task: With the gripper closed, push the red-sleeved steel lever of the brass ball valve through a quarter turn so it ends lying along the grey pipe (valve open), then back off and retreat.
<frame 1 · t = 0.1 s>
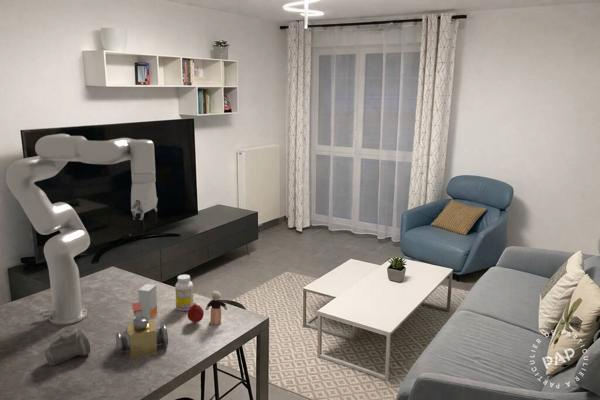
hand: (146, 226, 163), 37 cm above the table, tool pointing down, fingers open, 9 cm apart
onion: (195, 323, 175), on the table
lever: (138, 315, 160), point 9 cm above the table, hinge at 90.0°
pipe fitting: (68, 359, 151), on the table
skincare box: (148, 317, 179), on the table
valve: (142, 349, 157), on the table
supplement bottle: (184, 308, 187), on the table
grandmother figurine: (216, 323, 175), on the table
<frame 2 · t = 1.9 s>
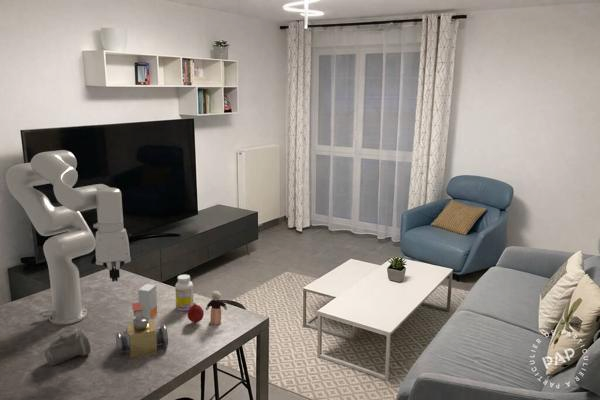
hand: (115, 279, 159), 21 cm above the table, tool pointing down, fingers closed
nothing on the table moved.
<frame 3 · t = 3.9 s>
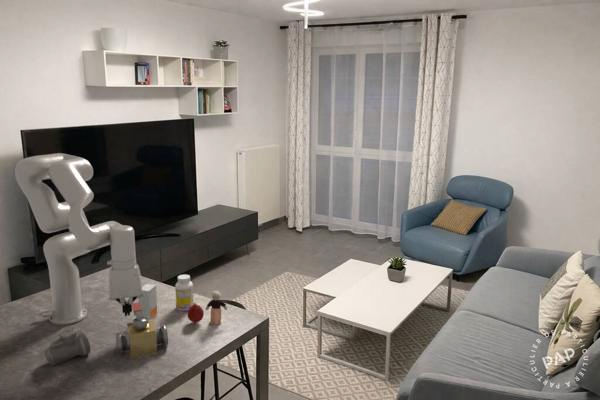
hand: (127, 314, 163), 8 cm above the table, tool pointing down, fingers closed
lever: (138, 315, 160), point 9 cm above the table, hinge at 90.0°, touching gripper
everything else where it was.
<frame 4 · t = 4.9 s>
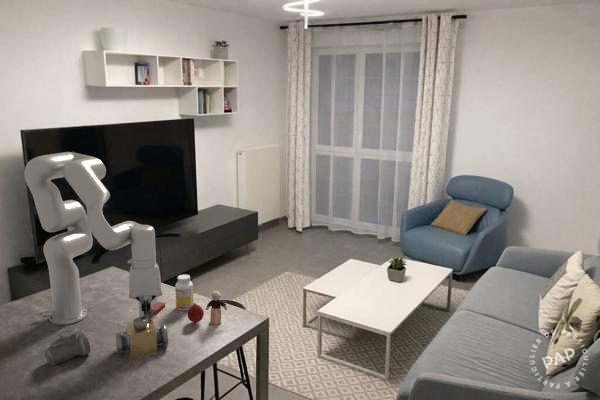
hand: (146, 312, 164), 8 cm above the table, tool pointing down, fingers closed
lever: (150, 315, 160), point 9 cm above the table, hinge at 52.3°, touching gripper
everything else where it was.
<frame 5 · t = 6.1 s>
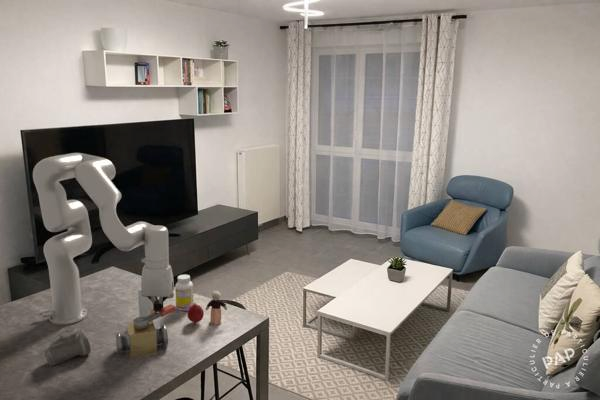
hand: (158, 312, 165), 8 cm above the table, tool pointing down, fingers closed
lever: (154, 316, 159), point 9 cm above the table, hinge at 31.5°, touching gripper
everything else where it was.
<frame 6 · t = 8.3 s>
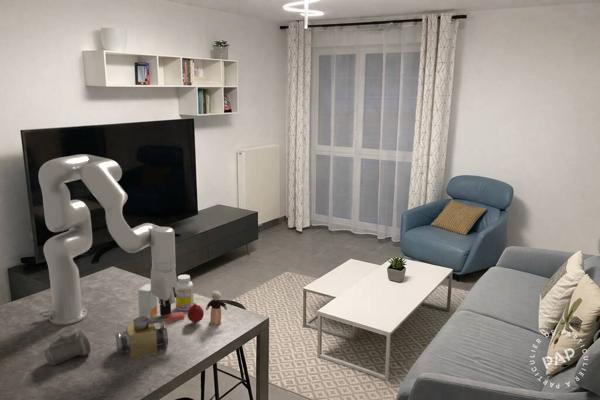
hand: (165, 314, 164), 8 cm above the table, tool pointing down, fingers closed
lever: (158, 320, 157), point 9 cm above the table, hinge at -1.5°
everything else where it was.
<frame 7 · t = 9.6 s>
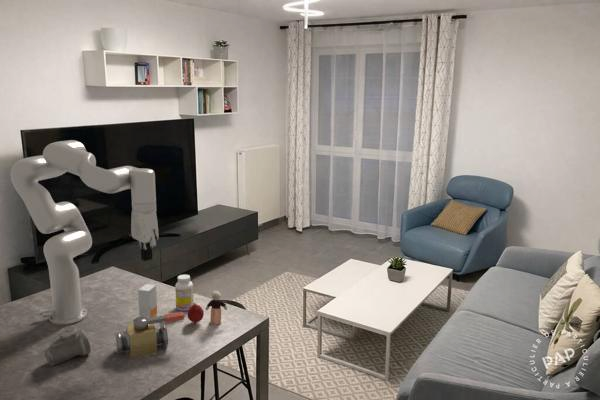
hand: (146, 259, 161), 27 cm above the table, tool pointing down, fingers closed
nothing on the table moved.
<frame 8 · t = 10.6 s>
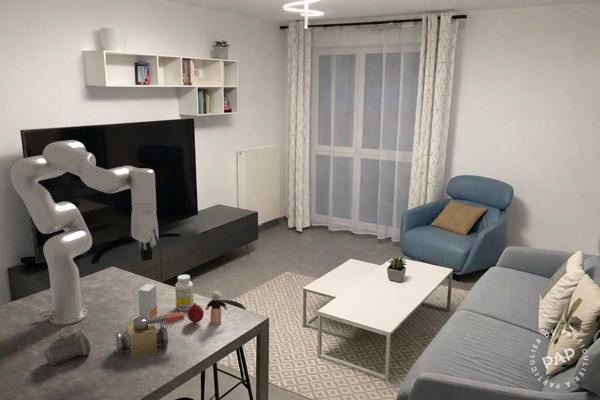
hand: (146, 259, 161), 27 cm above the table, tool pointing down, fingers closed
nothing on the table moved.
at the end: lever at -2° (first picture: +90°); lever touching nothing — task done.
